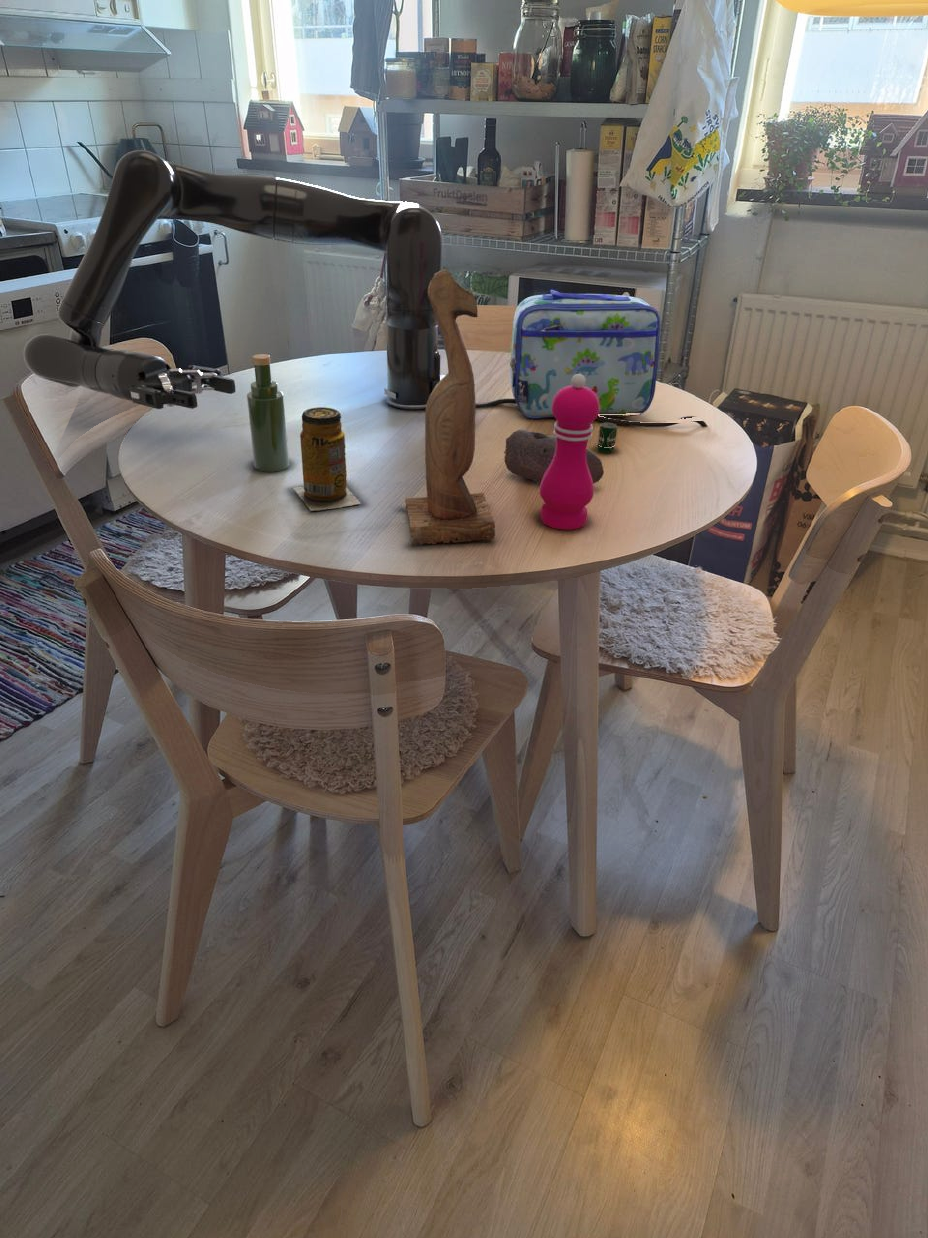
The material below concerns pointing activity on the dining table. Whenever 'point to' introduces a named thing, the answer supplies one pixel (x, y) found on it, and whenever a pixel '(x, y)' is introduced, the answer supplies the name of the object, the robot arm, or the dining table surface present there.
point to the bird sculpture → (450, 433)
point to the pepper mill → (570, 458)
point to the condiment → (324, 461)
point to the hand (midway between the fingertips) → (215, 393)
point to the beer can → (607, 437)
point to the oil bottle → (267, 419)
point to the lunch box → (584, 351)
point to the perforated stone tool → (539, 455)
